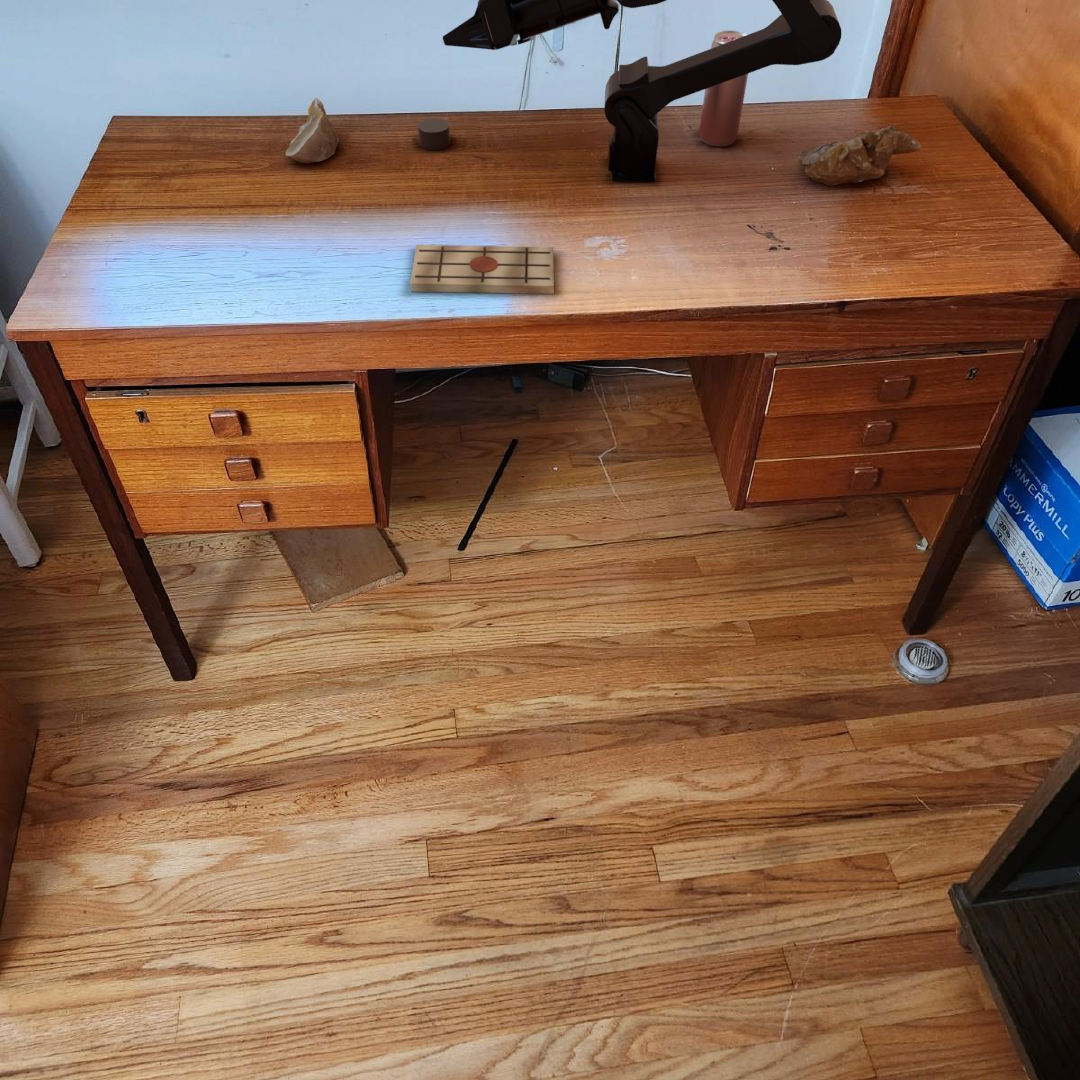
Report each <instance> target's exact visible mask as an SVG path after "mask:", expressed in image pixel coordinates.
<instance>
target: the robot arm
mask: <svg viewBox="0 0 1080 1080" xmlns="http://www.w3.org/2000/svg"><path fill="white" fill-rule="evenodd" d="M616 1H617V2H615V1H614V0H478V1H477V6H476V9H475V11H474V14H473V15H472V16H471V17H470V18H468V19H467V20H465V21H463V22H462V23H461V24H459V25H457V26H456V27H455V28H453V29H452V30H450V31H448V32H447V33H445V34H444V35H442V41H443V44H444V45H445V46H447V47H457V48H458V47H460V48H471V49H481V50H492V51H497V50H501V49H504V48H507V47H510V46H512V47H513V46H517V45H522V44H523V45H524V44H526V43H528V42H531V41H534V40H535V38H536V36H539V35H542V34H544V33H547V32H550V31H554V30H558V29H561V28H563V27H565V26H568V25H570V24H573V23H576V22H579V21H582V20H585V19H587V18H590V17H594V16H596V15H600V18H601V21H602V22H601V23H602V25H603V28H604V30H609V29H610V28H611V25H612V22H613V20H614V18H615V17H616V15H617V14H618V13H619V9H620V7H619V6H620V5H621V6H622V7H624V8H628V9H637V8H642V7H649V6H653V5H655V6H656V5H658V4H661V3H664V2H666V1H667V0H616ZM771 1H772V2H773V3H774V5H775V6H776V7H777V9H778V11H779V12H780V15H779V16H778V17H777V18H776V19H774V20H773V21H772V22H771V23H770V24H768V25H767V26H766V27H764V28H761V29H760V30H757V31H754V32H751V33H748V35H746V36H743V37H741V38H738V39H735V40H733V41H730V42H727V43H725V44H722V45H719V46H717V47H714V48H712V49H711V48H708V49H706V50H704V51H701V52H697V53H696V54H692V55H690V56H687V57H685V58H683V59H680V60H677V61H675V62H672V63H670V64H666V65H662V66H657V65H649V59H648V56H643V57H640V58H638V59H637V60H635V61H633V62H631V63H628V64H619V66H618V70H617V71H615V72H613V73H612V74H611V75H610V76H609V78H608V79H607V82H606V84H605V89H604V107H603V109H604V115H605V118H606V120H607V122H608V123H609V124H610V125H612V127H613V135H610V136H609V138H608V149H607V150H608V151H607V170H608V172H610V177H611V178H610V179H611V181H613V182H639V183H640V182H642V183H643V182H644V183H646V182H647V183H654V182H656V181H657V174H656V163H657V154H658V145H659V138H660V137H659V136H660V135H659V133H660V132H659V113H660V112H661V111H662V110H664V109H665V108H666V107H667V106H668V105H669V104H670V103H672V102H674V101H676V100H679V99H681V98H685V97H688V96H690V95H693V94H696V93H698V92H702V91H705V89H707V88H710V87H712V86H715V85H718V84H721V83H723V82H726V81H729V80H732V79H734V78H737V77H740V76H743V75H745V74H748V75H749V74H750V73H753V72H756V71H759V70H762V69H764V68H767V67H770V66H773V65H775V66H776V65H779V66H780V65H781V66H801V65H806V64H812V63H816V62H821V61H824V60H825V59H828V58H830V57H831V56H832V55H833V54H835V51H836V50H837V48H838V46H839V45H840V42H841V39H842V27H841V24H840V22H839V18H838V17H837V16H838V15H837V14H836V11H835V8H834V6H833V4H832V3H831V2H830V1H829V0H771ZM518 38H519V39H518Z"/></svg>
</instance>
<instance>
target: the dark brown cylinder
mask: <svg viewBox="0 0 1080 1080" xmlns="http://www.w3.org/2000/svg"><path fill="white" fill-rule="evenodd" d="M450 131H451V130H450V123H449V122H448V121H447V120H446V119H443V118H439V117H430V118H425V119H422V120H420V121H419V122H418V123H417V135H418V136H417V137H418V145H419V146H420V147H421V148H422V149H425V150H427V151H441V150H443V149H446V148H448V147H449V146H450V144H451V133H450Z"/></svg>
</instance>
